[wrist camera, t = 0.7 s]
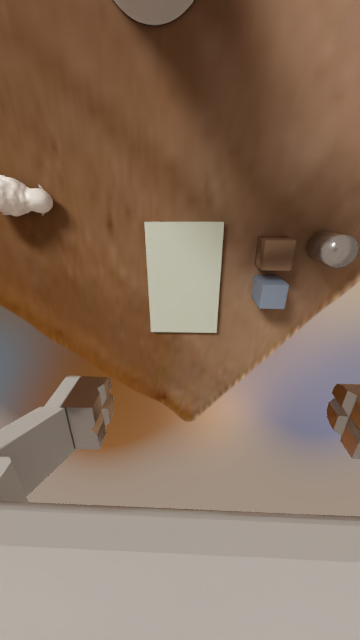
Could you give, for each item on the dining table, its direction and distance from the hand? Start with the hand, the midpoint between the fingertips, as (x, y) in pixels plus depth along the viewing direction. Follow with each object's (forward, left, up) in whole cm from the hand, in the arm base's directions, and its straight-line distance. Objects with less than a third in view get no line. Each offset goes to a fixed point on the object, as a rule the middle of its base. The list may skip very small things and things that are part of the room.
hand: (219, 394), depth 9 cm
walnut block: (+2, +14, -41) cm, 43 cm away
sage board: (+8, -2, -41) cm, 42 cm away
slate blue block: (+9, +14, -41) cm, 44 cm away
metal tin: (+1, +23, -41) cm, 47 cm away
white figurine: (-7, -30, -41) cm, 51 cm away
